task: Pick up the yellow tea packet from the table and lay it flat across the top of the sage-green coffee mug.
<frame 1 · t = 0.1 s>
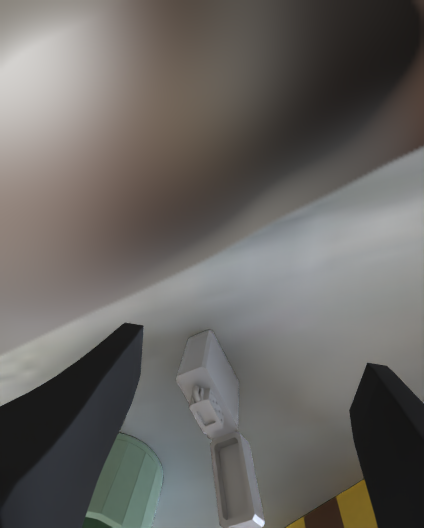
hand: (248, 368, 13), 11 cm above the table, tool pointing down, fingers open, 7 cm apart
lighter: (223, 379, 25), on the table
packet: (340, 527, 27), on the table
mug: (117, 472, 28), on the table
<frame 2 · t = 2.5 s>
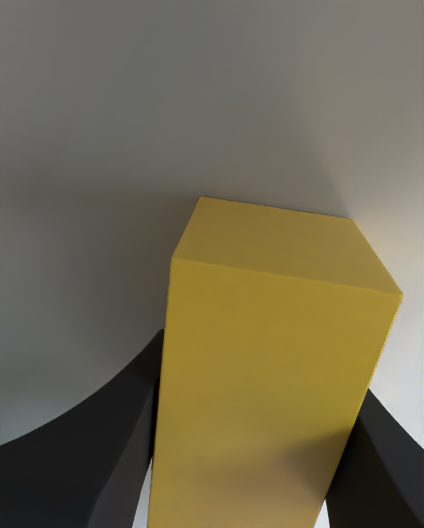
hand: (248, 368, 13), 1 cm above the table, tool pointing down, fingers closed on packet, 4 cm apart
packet: (248, 342, 14), on the table, touching gripper
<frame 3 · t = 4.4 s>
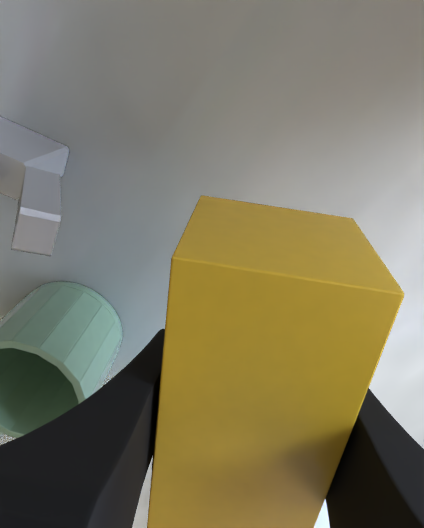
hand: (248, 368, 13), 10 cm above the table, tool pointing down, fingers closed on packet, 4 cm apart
lighter: (57, 158, 21), on the table
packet: (248, 341, 14), point 8 cm above the table, touching gripper
mug: (72, 326, 25), on the table
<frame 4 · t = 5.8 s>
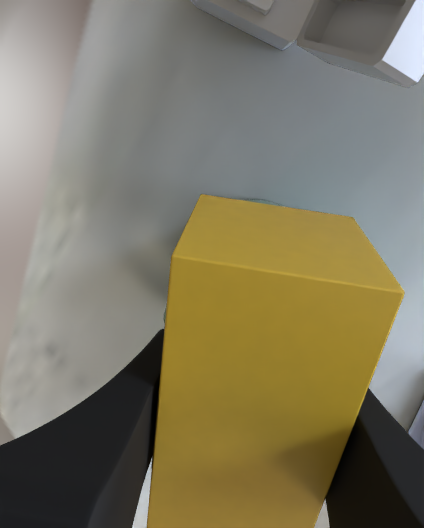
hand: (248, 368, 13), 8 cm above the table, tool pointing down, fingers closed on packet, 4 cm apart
lighter: (282, 23, 16), on the table
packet: (248, 340, 14), point 7 cm above the table, touching gripper
when the fingers open (7 cm above the table, at t = 6.6 s): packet stays where it is, resting on mug.
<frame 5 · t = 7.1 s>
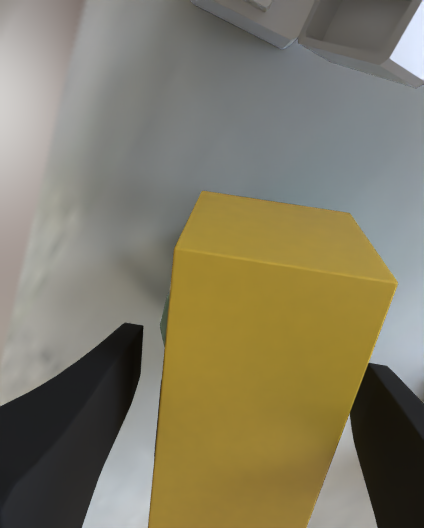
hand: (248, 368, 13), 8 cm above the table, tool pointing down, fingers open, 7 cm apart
lighter: (283, 21, 15), on the table
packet: (248, 334, 14), point 6 cm above the table, touching mug
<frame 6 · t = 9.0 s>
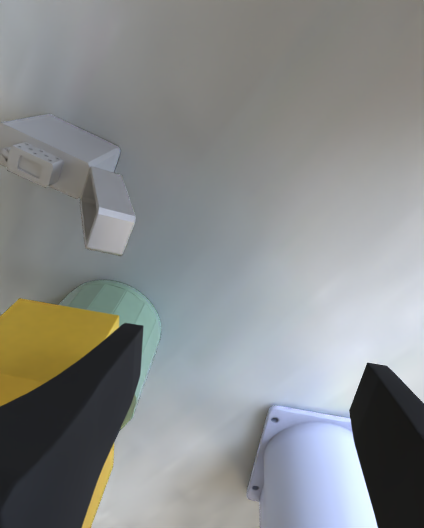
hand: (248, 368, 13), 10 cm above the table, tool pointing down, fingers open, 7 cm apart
lighter: (107, 157, 21), on the table
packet: (71, 390, 20), point 6 cm above the table, touching mug
mug: (111, 324, 25), on the table
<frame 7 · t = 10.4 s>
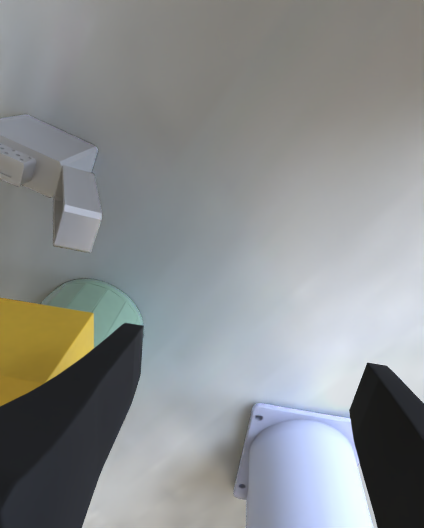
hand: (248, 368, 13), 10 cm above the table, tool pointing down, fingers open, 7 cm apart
lighter: (85, 157, 21), on the table
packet: (49, 388, 20), point 6 cm above the table, touching mug
mug: (94, 323, 26), on the table
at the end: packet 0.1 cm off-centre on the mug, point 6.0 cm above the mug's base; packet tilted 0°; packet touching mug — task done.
